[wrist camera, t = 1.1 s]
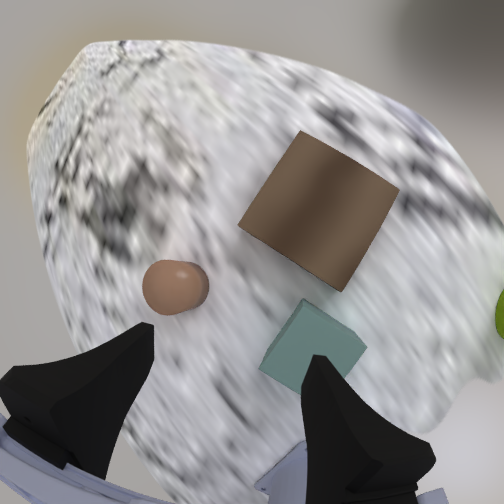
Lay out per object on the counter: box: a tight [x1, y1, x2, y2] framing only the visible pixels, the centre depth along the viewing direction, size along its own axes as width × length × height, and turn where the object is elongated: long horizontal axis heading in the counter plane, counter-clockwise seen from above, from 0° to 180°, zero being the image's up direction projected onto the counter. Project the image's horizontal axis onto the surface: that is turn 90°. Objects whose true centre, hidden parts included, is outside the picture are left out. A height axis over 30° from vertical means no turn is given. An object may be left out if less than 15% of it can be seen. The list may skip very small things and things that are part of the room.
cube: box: [259, 299, 367, 395], centre depth 19 cm, size 5×5×5 cm
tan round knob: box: [142, 260, 209, 315], centre depth 22 cm, size 4×4×4 cm
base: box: [238, 130, 400, 292], centre depth 21 cm, size 9×9×2 cm
